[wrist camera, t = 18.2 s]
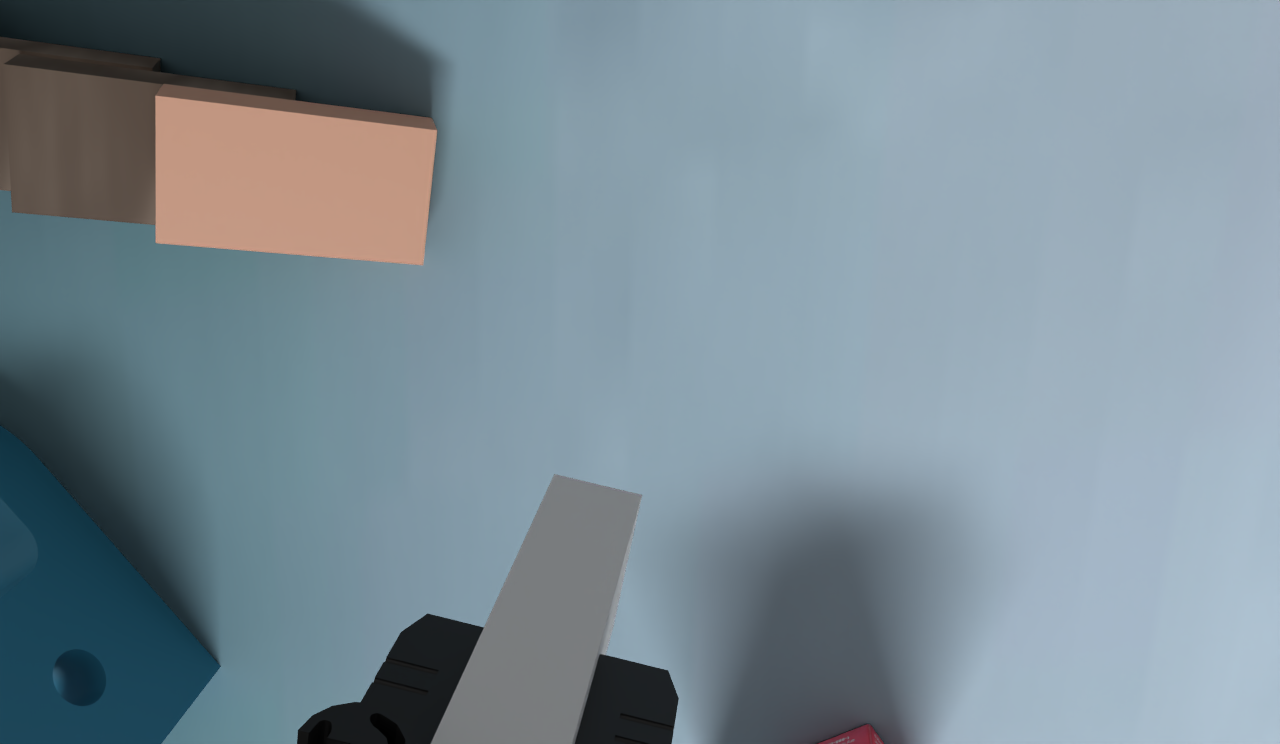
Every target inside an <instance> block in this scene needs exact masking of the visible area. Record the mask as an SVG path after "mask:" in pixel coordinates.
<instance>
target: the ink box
mask: <svg viewBox="0 0 1280 744" xmlns="http://www.w3.org/2000/svg"><path fill="white" fill-rule="evenodd" d="M818 744H884V743H883V741H882V740H881V739H880V737H879V736H878V734H877V733H876V732H875V731H874V729H873V728H872V726H871V725H869V724H866V725H864V726H861V727H859V728H855V729H854V730H852V731H848V732H846V733H843V734H840V735H839V736H836V737H833V738H831V739H828V740H826V741H823V742H820V743H818Z"/></svg>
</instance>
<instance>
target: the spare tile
mask: <svg viewBox="0 0 1280 744" xmlns="http://www.w3.org/2000/svg"><path fill="white" fill-rule="evenodd" d="M155 126H156V243H162V244H174V245H186V246H198V247H210V248H222V249H234V250H246V251H258V252H270V253H282V254H294V255H306V256H318V257H330V258H342V259H355V260H367V261H379V262H391V263H403V264H415V265H423V261H424V251H425V242H426V232H427V223H428V213H429V204H430V194H431V185H432V175H433V166H434V156H435V146H436V137H437V129H436V126H435V124H434V122H433V119H432V118H429V117H421V116H413V115H405V114H397V113H390V112H382V111H374V110H366V109H358V108H350V107H342V106H335V105H327V104H319V103H311V102H303V101H295V100H287V99H280V98H272V97H264V96H256V95H248V94H240V93H232V92H225V91H217V90H209V89H201V88H193V87H185V86H177V85H170V84H163V85H162V87H161V88H160V90H159V91H158V93H157V94H156V95H155Z"/></svg>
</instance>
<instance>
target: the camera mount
mask: <svg viewBox="0 0 1280 744" xmlns="http://www.w3.org/2000/svg"><path fill="white" fill-rule="evenodd" d="M220 667H221V666H220V665H219V664H218V663H217V662H216V661H215V659H214V658H213V657H212V656H211V655H210V654H209V653H208V651H207V650H206V649H205V648H204V647H203V646H202V645H201V644H200V642H199V641H198V640H197V639H196V638H195V637H194V636H193V634H192V633H191V632H190V631H189V630H188V629H187V628H186V626H185V625H184V624H183V623H182V622H181V621H180V620H179V618H178V617H177V616H176V615H175V614H174V613H173V612H172V610H171V609H170V608H169V607H168V606H167V605H166V604H165V602H164V601H163V600H162V599H161V598H160V597H159V596H158V594H157V593H156V592H155V591H154V590H153V589H152V588H151V587H150V585H149V584H148V583H147V582H146V581H145V580H144V579H143V577H142V576H141V575H140V574H139V573H138V572H137V571H136V569H135V568H134V567H133V566H132V565H131V564H130V563H129V561H128V560H127V559H126V558H125V557H124V556H123V555H122V553H121V552H120V551H119V550H118V549H117V548H116V547H115V545H114V544H113V543H112V542H111V541H110V540H109V539H108V538H107V536H106V535H105V534H104V533H103V532H102V531H101V530H100V528H99V527H98V526H97V525H96V524H95V523H94V522H93V520H92V519H91V518H90V517H89V516H88V515H87V514H86V512H85V511H84V510H83V509H82V508H81V507H80V506H79V504H78V503H77V502H76V501H75V500H74V499H73V498H72V496H71V495H70V494H69V493H68V492H67V491H66V490H65V488H64V487H63V486H62V485H61V484H60V483H59V482H58V481H57V479H56V478H55V477H54V476H53V475H52V474H51V473H50V471H49V470H48V469H47V468H46V467H45V466H44V465H43V463H42V462H41V461H40V460H39V459H38V458H37V457H36V455H35V454H34V453H33V452H32V451H31V450H30V449H29V448H28V447H27V446H26V445H25V444H24V443H22V442H21V441H20V440H19V439H18V438H17V437H15V436H14V435H13V434H12V433H10V432H9V431H7V430H6V429H5V428H3V427H2V426H0V744H161V743H162V742H163V741H164V739H165V738H166V737H167V735H168V734H169V733H170V732H171V730H172V729H173V728H174V726H175V725H176V724H177V722H178V721H179V720H180V719H181V717H182V716H183V715H184V713H185V712H186V711H187V709H188V708H189V707H190V706H191V704H192V703H193V702H194V700H195V699H196V698H197V697H198V695H199V694H200V693H201V691H202V690H203V689H204V687H205V686H206V685H207V684H208V682H209V681H210V680H211V678H212V677H213V676H214V674H215V673H216V672H217V671H218V669H219V668H220Z"/></svg>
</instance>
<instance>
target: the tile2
mask: <svg viewBox="0 0 1280 744" xmlns="http://www.w3.org/2000/svg"><path fill="white" fill-rule="evenodd" d="M4 81H5V98H6V115H7V132H8V149H9V166H10V183H11V200H12V212H16V213H27V214H38V215H50V216H61V217H72V218H84V219H95V220H106V221H118V222H129V223H140V224H151V225H156V126H155V95H156V94H157V93H158V91H159V90H160V88H161V87H162V85H163V84H170V85H177V86H185V87H193V88H201V89H209V90H217V91H225V92H232V93H240V94H248V95H256V96H264V97H272V98H280V99H287V100H295V101H296V90H292V89H285V88H277V87H269V86H262V85H254V84H246V83H239V82H231V81H223V80H216V79H208V78H200V77H193V76H185V75H177V74H170V73H162V72H154V71H147V70H139V69H131V68H124V67H116V66H108V65H101V64H93V63H85V62H78V61H70V60H62V59H55V58H47V57H39V56H32V55H24V54H18V55H17V56H15V57H13V58H12V59H10V60H9V61H7V62H6V63H4Z"/></svg>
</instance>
